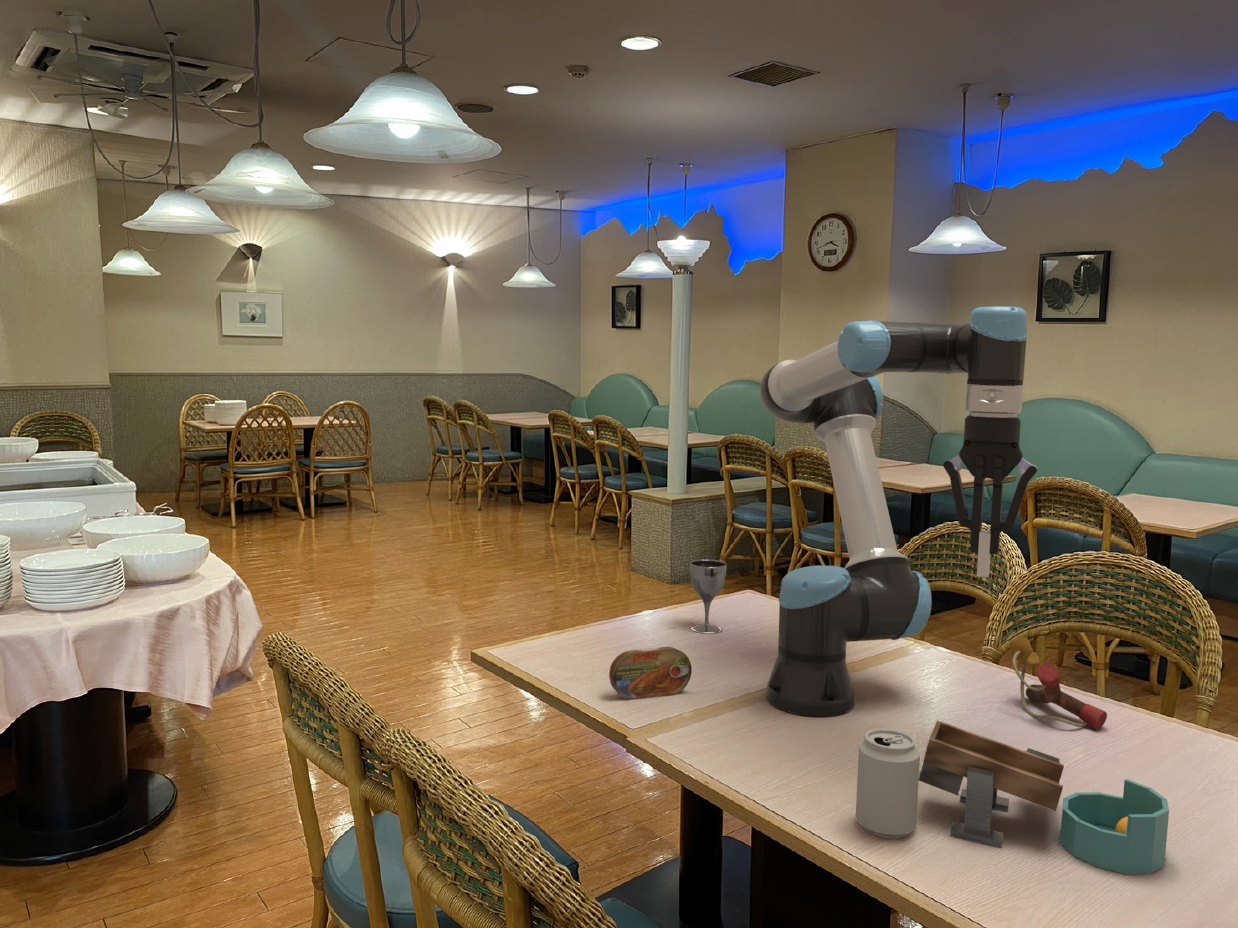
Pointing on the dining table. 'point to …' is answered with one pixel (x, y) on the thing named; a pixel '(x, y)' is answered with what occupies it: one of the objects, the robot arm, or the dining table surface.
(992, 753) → the lever
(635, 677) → the tin
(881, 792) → the can
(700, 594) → the wine glass
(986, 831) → the stand
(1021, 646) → the slingshot
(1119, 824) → the ball
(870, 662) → the dining table surface
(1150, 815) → the teal container
